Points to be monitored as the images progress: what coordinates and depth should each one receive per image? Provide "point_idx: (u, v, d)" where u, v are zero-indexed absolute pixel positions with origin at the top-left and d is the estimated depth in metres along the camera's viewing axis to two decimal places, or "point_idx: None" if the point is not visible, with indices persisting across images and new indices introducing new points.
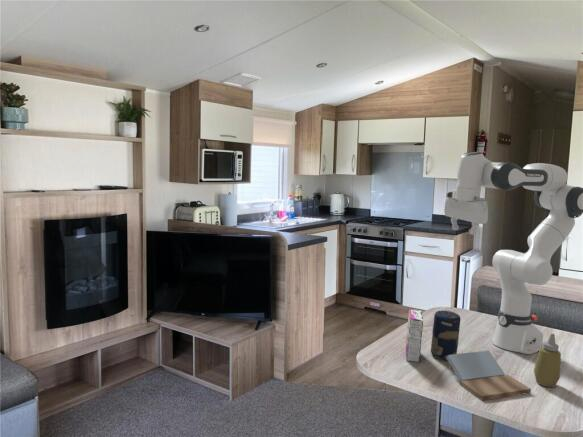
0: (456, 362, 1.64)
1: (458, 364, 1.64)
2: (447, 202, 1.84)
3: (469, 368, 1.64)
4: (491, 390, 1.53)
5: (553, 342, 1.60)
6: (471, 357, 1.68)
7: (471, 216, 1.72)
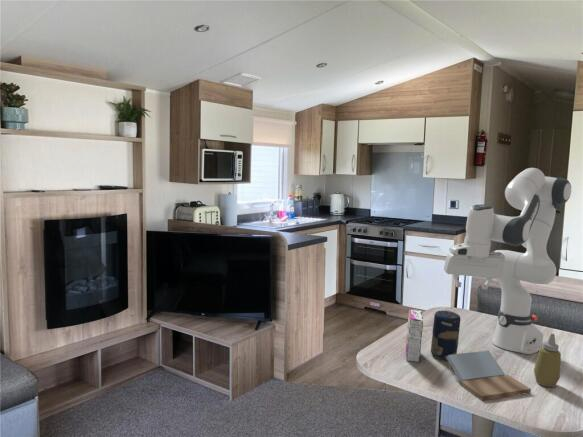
0: (456, 362, 1.64)
1: (458, 364, 1.64)
2: (454, 259, 1.66)
3: (469, 368, 1.64)
4: (491, 390, 1.53)
5: (553, 342, 1.60)
6: (471, 357, 1.68)
7: (491, 272, 1.67)
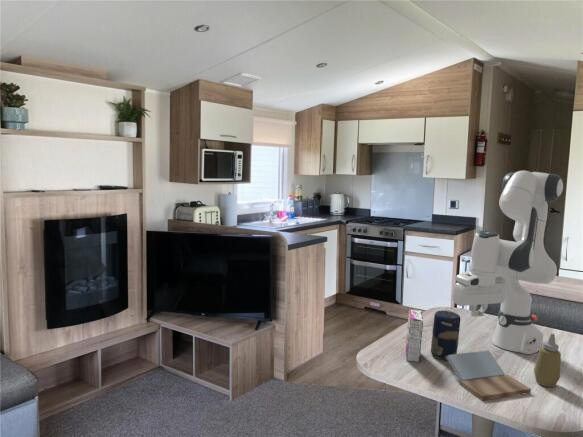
0: (456, 362, 1.64)
1: (458, 364, 1.64)
2: (466, 290, 1.59)
3: (469, 368, 1.64)
4: (491, 390, 1.53)
5: (553, 342, 1.60)
6: (471, 357, 1.68)
7: (495, 298, 1.65)
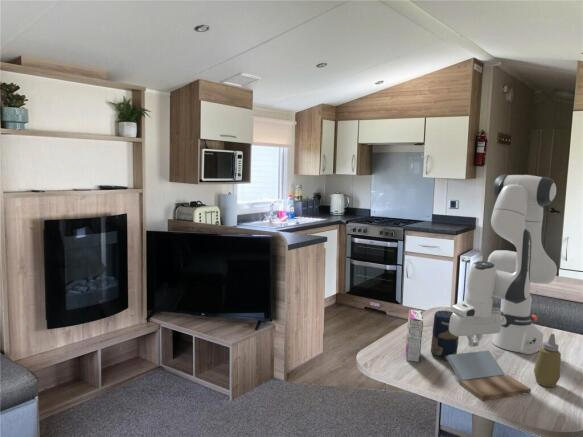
0: (456, 362, 1.64)
1: (458, 364, 1.64)
2: (462, 321, 1.61)
3: (469, 368, 1.64)
4: (491, 390, 1.53)
5: (553, 342, 1.60)
6: (471, 357, 1.68)
7: (491, 328, 1.66)
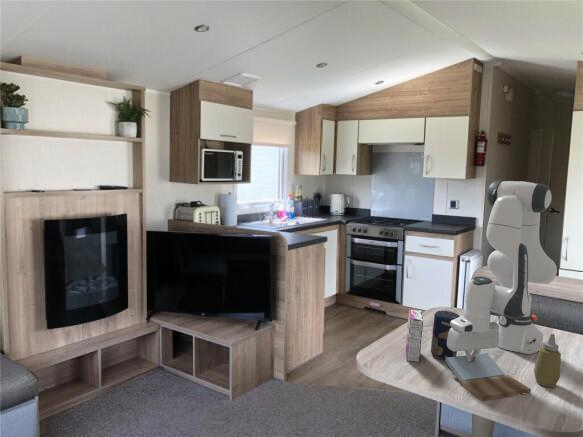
0: (455, 364, 1.65)
1: (457, 366, 1.64)
2: (460, 337, 1.61)
3: (468, 369, 1.64)
4: (491, 390, 1.53)
5: (553, 342, 1.60)
6: None
7: (489, 343, 1.67)
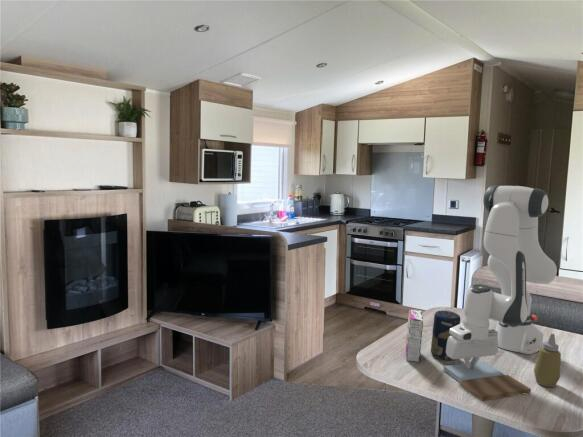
0: (453, 370, 1.66)
1: (455, 371, 1.65)
2: (459, 345, 1.62)
3: (467, 373, 1.64)
4: (491, 390, 1.53)
5: (553, 342, 1.60)
6: None
7: (488, 350, 1.67)
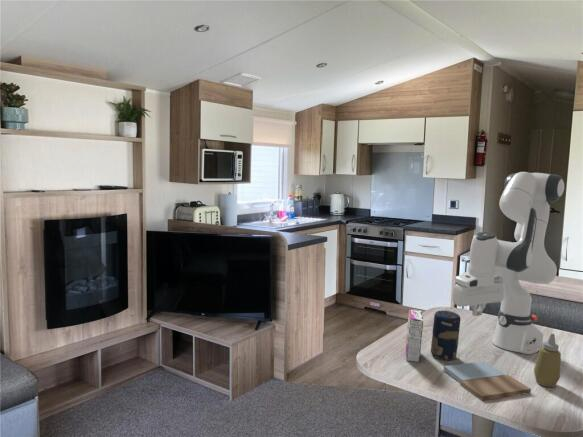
0: (453, 370, 1.66)
1: (455, 371, 1.65)
2: (465, 292, 1.64)
3: (467, 373, 1.64)
4: (491, 390, 1.53)
5: (553, 342, 1.60)
6: (468, 366, 1.69)
7: (494, 297, 1.69)
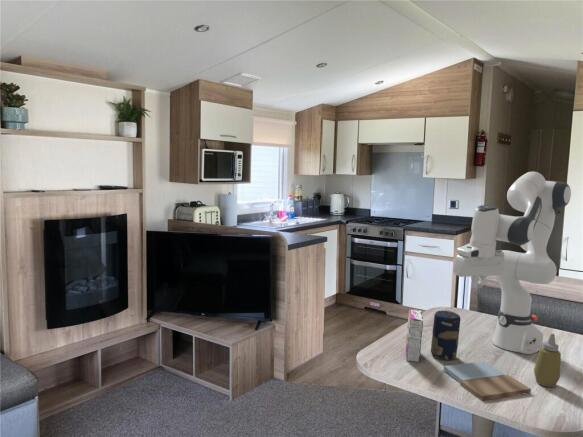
0: (453, 370, 1.66)
1: (455, 371, 1.65)
2: (466, 262, 1.66)
3: (467, 373, 1.64)
4: (491, 390, 1.53)
5: (553, 342, 1.60)
6: (468, 366, 1.69)
7: (495, 270, 1.72)
